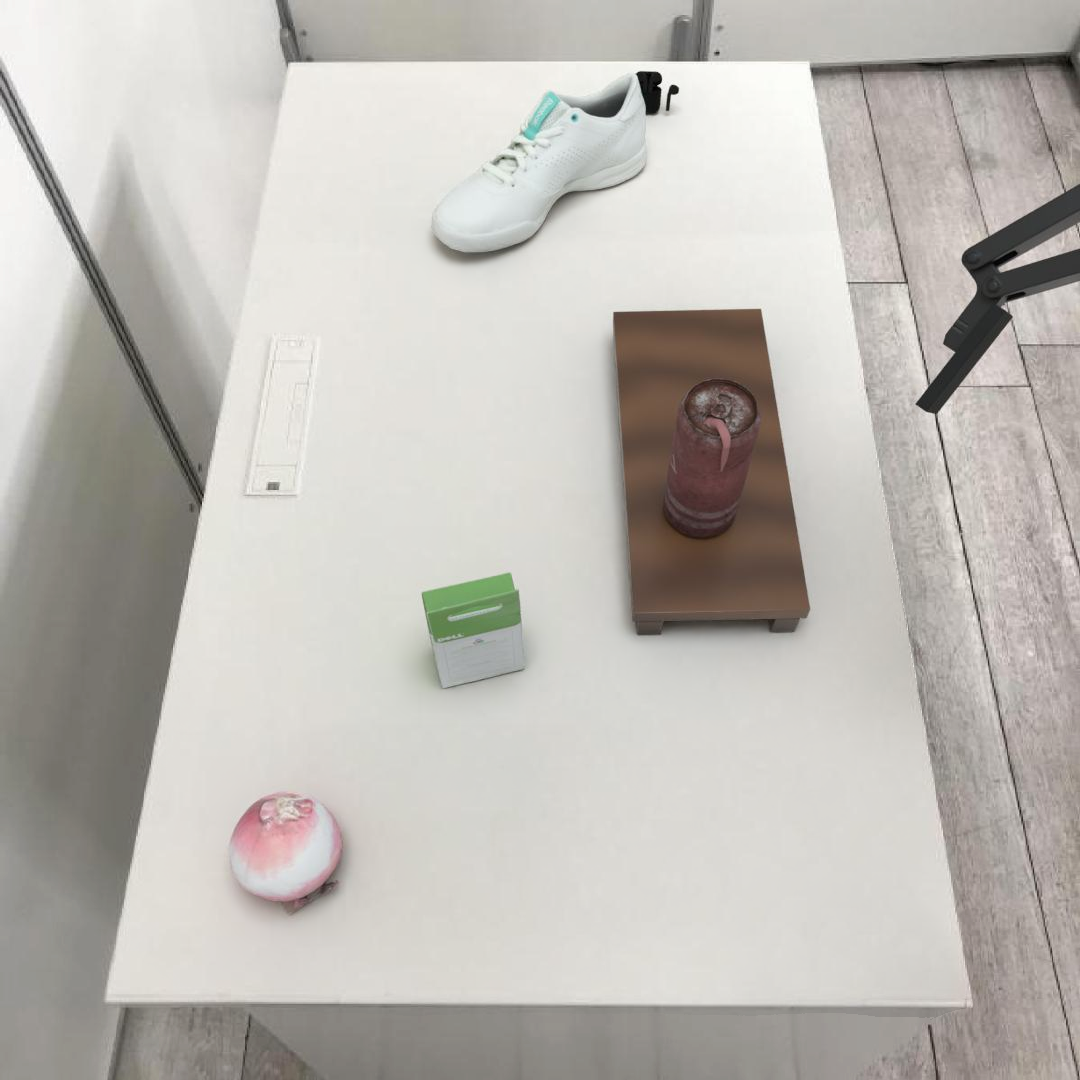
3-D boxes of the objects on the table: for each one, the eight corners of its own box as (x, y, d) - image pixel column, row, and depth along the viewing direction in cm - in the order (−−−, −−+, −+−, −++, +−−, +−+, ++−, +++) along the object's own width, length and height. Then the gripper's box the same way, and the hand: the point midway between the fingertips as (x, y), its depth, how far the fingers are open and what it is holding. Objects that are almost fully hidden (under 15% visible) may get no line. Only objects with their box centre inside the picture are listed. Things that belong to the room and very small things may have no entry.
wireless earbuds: (614, 115, 121) (616, 76, 117) (615, 101, 123) (617, 61, 118) (676, 117, 121) (680, 77, 117) (676, 102, 122) (680, 63, 118)
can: (675, 550, 87) (694, 450, 75) (654, 487, 90) (668, 382, 78) (746, 535, 88) (776, 434, 76) (722, 473, 91) (747, 366, 79)
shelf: (800, 632, 88) (810, 610, 84) (630, 635, 88) (633, 613, 84) (754, 336, 104) (761, 308, 101) (611, 339, 104) (613, 311, 101)
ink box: (514, 627, 88) (508, 545, 77) (526, 670, 86) (521, 592, 75) (432, 646, 88) (413, 566, 76) (441, 690, 86) (423, 614, 74)
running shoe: (410, 228, 113) (396, 134, 102) (602, 122, 121) (606, 26, 111) (466, 281, 108) (457, 189, 98) (661, 168, 117) (671, 73, 107)
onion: (361, 818, 80) (344, 788, 74) (334, 923, 76) (314, 901, 70) (259, 801, 81) (234, 770, 75) (227, 905, 77) (198, 881, 71)
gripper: (1600, 271, 48) (1245, 626, 56) (1107, 27, 57) (863, 358, 65) (1661, 240, 41) (1250, 646, 49) (1095, -29, 51) (826, 346, 59)
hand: (1029, 483), depth 57 cm, fingers open, 13 cm apart
